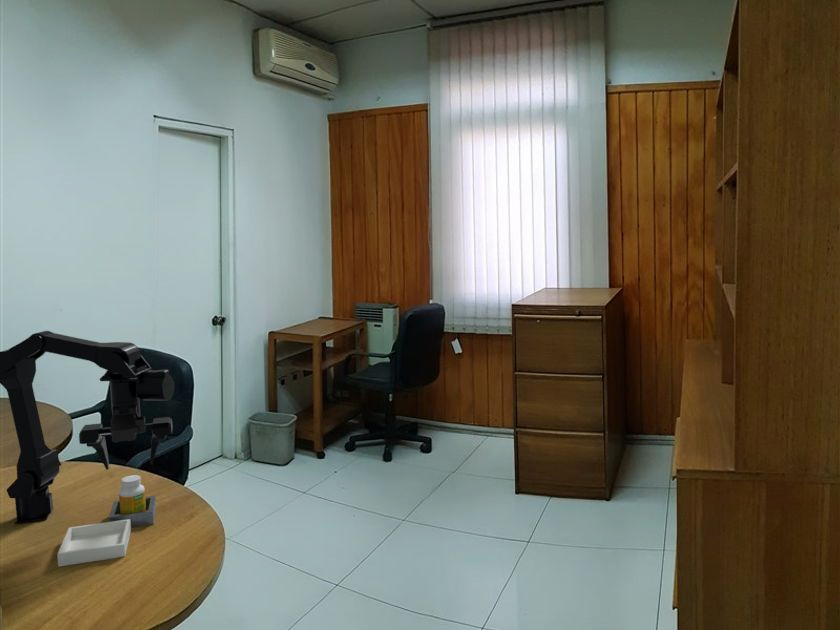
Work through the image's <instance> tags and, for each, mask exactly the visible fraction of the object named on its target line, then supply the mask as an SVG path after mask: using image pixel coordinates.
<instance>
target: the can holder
mask: <svg viewBox="0 0 840 630" xmlns="http://www.w3.org/2000/svg"><path fill="white" fill-rule="evenodd" d="M145 500H146V511H139V512H132V513H125V514H120V500H113V503H112V506H111V509H110V512H109V516H108V522H113V521H120V520H127V519H130V521H131V528H136V527H142V526H143V527H144V526H149V525H151V526H152V525H154V524H155V518H156V511H157V500H156V495H153V496H152V495H150V496H145Z"/></svg>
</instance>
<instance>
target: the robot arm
mask: <svg viewBox="0 0 840 630" xmlns="http://www.w3.org/2000/svg"><path fill="white" fill-rule="evenodd" d="M140 351H141V350H140V349H139V347H138V345H136V344H135V343H134V342H124V341H121V342H120V341H118V342H117V341H114V342H112V341H111V342H99V341H95V340H89V339H83V338H79V337H75V336H69V335H64V334H59V333H56V332H53V331H49V330H42V331H39V332H35V333H33V334H31V335H30V336H28V337H27V338H25V339H24V340H23V341H21V342H19V343H17V344H15V345H14V346H12V347H10V348H9V349H5V350H2V351H0V385H1V386H3V388H4V389H6V392H7V396H8V400H9V401H8V402H9V405H10V409H11V415H12V418H13V424H14V427H15V432H16V437H17V441H18V446H19V450H20V451H19V455H18V459H17V463H16V466H15V468H16V479H15V480H14V481H13V482H12V483H11V484H10V485H9V487H8V488H6V493H7V495H8V497H9V499H14V503H15V513H16V519H15V520H14V524H15V525H17V524H23V523H24V524H25V523H31V522H37V521H45V520H48V518H49V516H50V514H52V512H53V510H54V505H53V504H54V503H53V502H54V501H53V500H54V499H53V493H52V492H50V489H49V486H51V485H52V484H54V480H55V478H56V477H57V475H58V474H59V473H60V467H61V466H62V463H61V461H60V459H59V451H58V449H50V448H49V447H48V446H47V444H46V443H45V439H44V438H45V437H44V433H43V429H42V423H41V418H40V413H39V410H38V406H37V401H36V397H35V392H34V388H33V383H34V380H35V377H36V373H37V364H36V363H37V362H36V361H37V360H38V359H39V358H41V357H42V356H44V355H45V353H49V354H50V353H51V354H54V355H60V356H65V357H70V358H74V359H78V360H83V361H88V362H90V363H91V362H92V363H94V365H96V366H98V368H101V369H103V370H106V372H105V373H104V374H103V375H102V376H101V377H100V378H99V381H100V382H109V389H110V401H111V403H110V404H111V413H112V414H111V418H110V422H109V423H110V426H109V427H103V423H92V424H91V423H90V424H85V425H83V426H82V428H81V430H80V431H79V434H78V438H79V439H78V440H79V444H80V445H84V444H86V446H87V447H88V448H90V447H91V448H93V449H94V450H95V451H96V453H97V454H98V456H99V458H100V460H101V462H102V464H103V465H104V468H105V470H107V471H108V470H109V469H110V461H109V460H110V459H109V454H108V448H107V447H108V446H107V443H106V437H111V442H113V443H120V442H125V441H128V442H131V441H135V440H137V434H142V433H152V435H151V446H150V459H149V460H150V465H154V460H155V457H156V453H157V450H158V447H159V445H160V442H161V441H162V440H165V439H166V438H167V436H170V435H173V419H172V418H171V417H170V416H165V417H156V418H153V421H152V422H151V423H149V422H148V423H147V422H146V417H145V415H141V407H140V406H141V405H140V399H141V400H142V401H167V402H168V401H170V400H171V399H172V398H173V396H174V394H175V381H174V379H173V376H171V375H170V370H169V369H160V370H159V369H158V370H155V369H154V370H153V368H152V367H151V365H150V364H149V363H148V361H147V360H146V359H145V358H144V356H143V355H142V354H141V352H140ZM133 367H135V368H133Z"/></svg>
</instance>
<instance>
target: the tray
mask: <svg viewBox="0 0 840 630" xmlns="http://www.w3.org/2000/svg"><path fill="white" fill-rule="evenodd" d="M131 532H132V527H131V521H130V519H127V520H120V521H113V522H109V521H107V522H99V523H92V524H85V525H78V526H71V527H70V526H69V527H68V528H67V532H66V534H65V536H64V538H63V541H62V543H61V545H60V546H59V550H58V552H57V556H56V557H57V565H58V566H57V567H58V568H59V567H65V566H71V565H78V564H84V563H91V562H97V561H105V560H111V559H117V558H124V557H126V554H127V549H128V546H129V541H130V537H131Z"/></svg>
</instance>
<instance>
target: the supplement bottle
mask: <svg viewBox="0 0 840 630" xmlns="http://www.w3.org/2000/svg"><path fill="white" fill-rule="evenodd" d="M141 483H142V479H141V476H140V475H139V474H137V475H136V474H133V475H132V474H131V475H127V476H124V477H122V478H121V487H120V489H119V491H118V497H119V498H118V499H119V500H120V514H125V513H132V512H139V511H146V500H145V497H146V489H145V486H144V485H143V484H141ZM119 500H118V501H119Z"/></svg>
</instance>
